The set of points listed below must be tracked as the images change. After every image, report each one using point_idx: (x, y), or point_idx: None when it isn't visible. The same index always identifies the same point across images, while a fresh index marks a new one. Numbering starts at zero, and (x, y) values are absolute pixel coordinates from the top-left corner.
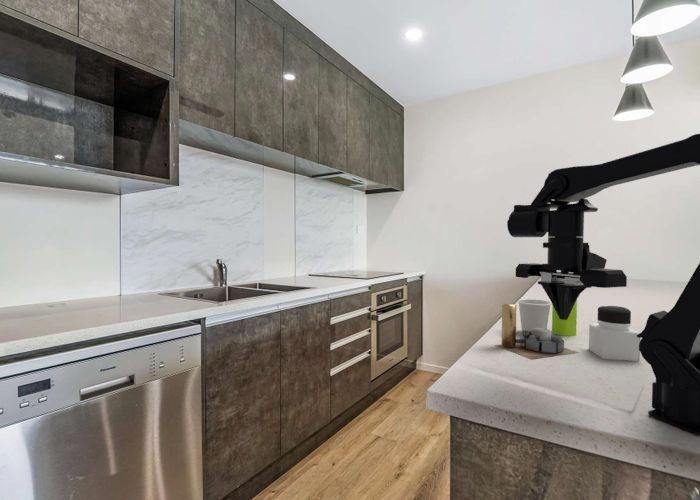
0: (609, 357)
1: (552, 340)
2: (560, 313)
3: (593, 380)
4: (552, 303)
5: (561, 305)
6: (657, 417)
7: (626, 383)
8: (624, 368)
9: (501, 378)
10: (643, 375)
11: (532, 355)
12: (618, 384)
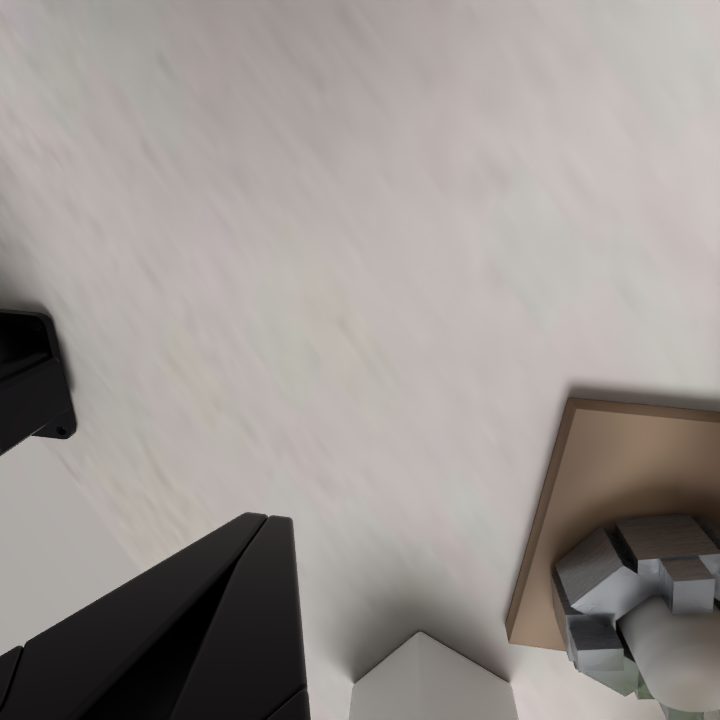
0: (406, 660)
1: (606, 628)
2: (232, 546)
3: (319, 447)
4: (286, 654)
5: (108, 626)
6: (18, 312)
7: (260, 512)
8: (354, 629)
9: (526, 59)
10: None
11: (609, 461)
12: (262, 483)
